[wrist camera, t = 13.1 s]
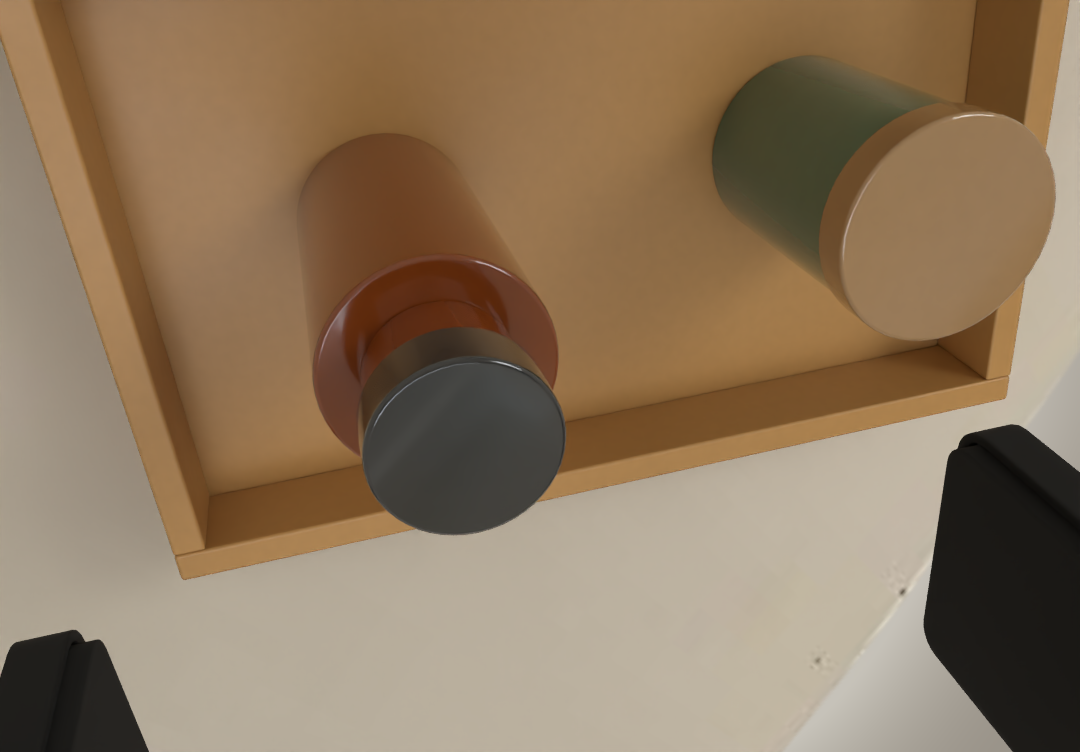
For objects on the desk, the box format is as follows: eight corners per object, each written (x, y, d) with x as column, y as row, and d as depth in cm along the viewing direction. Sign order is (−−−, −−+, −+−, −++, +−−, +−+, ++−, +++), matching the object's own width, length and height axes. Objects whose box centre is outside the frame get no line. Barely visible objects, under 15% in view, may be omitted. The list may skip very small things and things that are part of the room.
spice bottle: (278, 146, 24) (293, 352, 14) (462, 119, 24) (595, 295, 15) (315, 315, 26) (349, 594, 16) (482, 285, 26) (612, 534, 17)
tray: (-6, -101, 21) (-46, -94, 18) (1013, -208, 25) (1105, -215, 22) (189, 512, 28) (181, 581, 25) (945, 354, 32) (1007, 399, 29)
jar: (707, 65, 25) (848, 132, 19) (887, 38, 26) (1076, 94, 20) (708, 250, 28) (833, 361, 22) (873, 220, 28) (1038, 319, 22)
